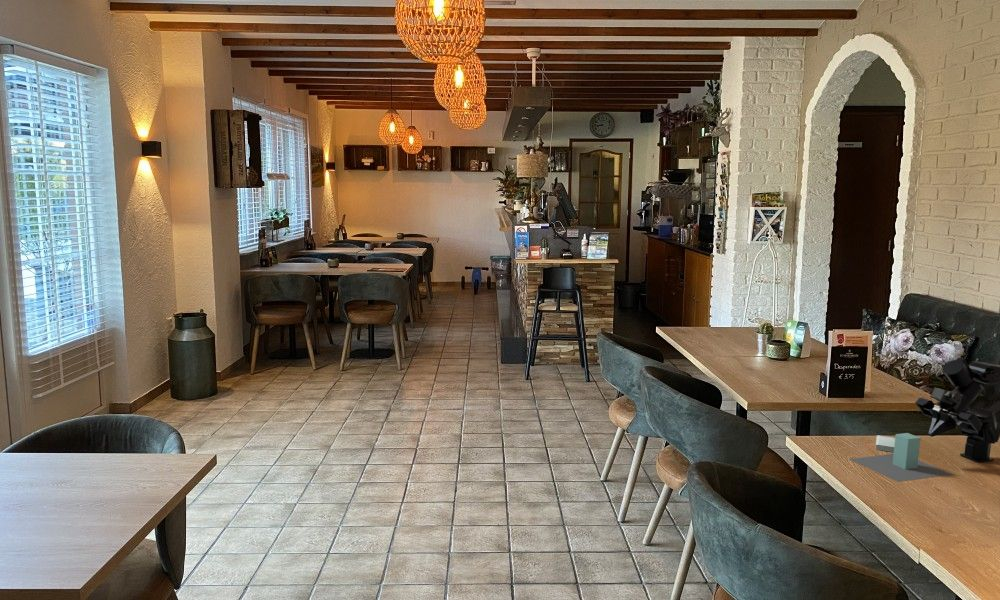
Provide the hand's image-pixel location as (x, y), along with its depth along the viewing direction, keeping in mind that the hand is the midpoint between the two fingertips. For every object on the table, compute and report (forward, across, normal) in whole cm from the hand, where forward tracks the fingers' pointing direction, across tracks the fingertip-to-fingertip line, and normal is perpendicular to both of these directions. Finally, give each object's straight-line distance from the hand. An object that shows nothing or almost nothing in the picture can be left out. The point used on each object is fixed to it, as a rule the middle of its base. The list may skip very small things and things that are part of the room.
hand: (929, 435), depth 219 cm
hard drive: (+5, -15, +8) cm, 18 cm away
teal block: (+12, 0, 0) cm, 12 cm away
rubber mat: (+14, 0, -1) cm, 14 cm away
